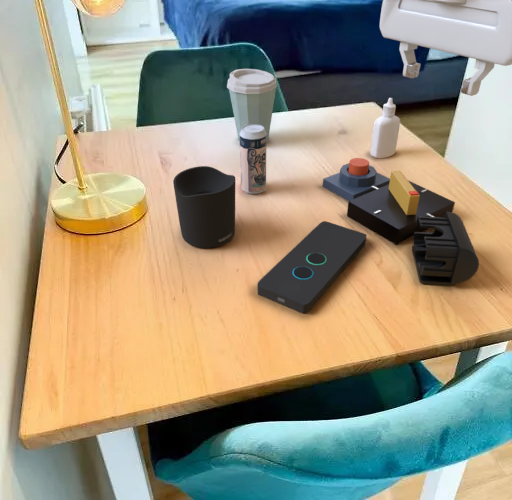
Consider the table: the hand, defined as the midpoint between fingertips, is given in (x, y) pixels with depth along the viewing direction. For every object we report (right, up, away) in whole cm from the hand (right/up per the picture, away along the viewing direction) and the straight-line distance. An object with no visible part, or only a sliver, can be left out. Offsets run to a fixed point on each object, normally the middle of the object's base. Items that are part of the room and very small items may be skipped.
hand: (438, 84), depth 68 cm
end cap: (+3, -25, +7) cm, 26 cm away
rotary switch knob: (0, -14, +17) cm, 22 cm away
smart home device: (-16, -25, +7) cm, 30 cm away
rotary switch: (0, -17, +19) cm, 25 cm away
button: (-6, -8, +26) cm, 27 cm away
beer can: (-25, -11, +27) cm, 39 cm away
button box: (-6, -10, +27) cm, 30 cm away
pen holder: (-32, -20, +15) cm, 41 cm away
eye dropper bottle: (+2, -2, +39) cm, 40 cm away
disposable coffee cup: (-25, +2, +45) cm, 52 cm away
